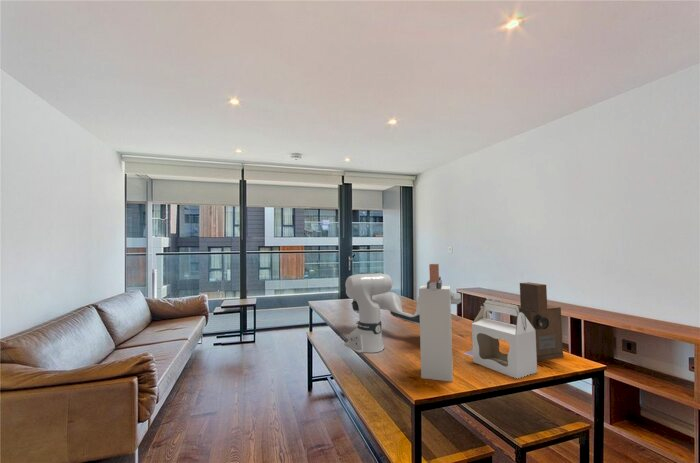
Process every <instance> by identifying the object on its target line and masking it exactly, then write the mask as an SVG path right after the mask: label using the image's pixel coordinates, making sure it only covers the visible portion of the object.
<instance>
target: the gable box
mask: <svg viewBox="0 0 700 463" xmlns="http://www.w3.org/2000/svg"><path fill="white" fill-rule="evenodd" d="M519 306H520V305H518V304H513V303H507V302H502V301H501V302H500V301H496V300H489V299H486V300H485V301H484V302H483V305H480V310H479V311H478V313H477V314H476V316H475V318H474V319H473V321H472V323H471V334H472V335H471V337H472V340H471V341H472V350H473V356H472V362H473V363H475V364H478V365H479V366H483V367H485V368H487V369H489V370H493V371H496V372H498V373H500V374H503V375H505V376H508V377H511V378H513V377H514V378H513V379H516V378H517V380H519V379H522V378H525V377H528V376H531V375H534V374H536V373H538V362H537V356H536V333H535V329H534V328H533V326H532V325H531V323H530V322H529V321H528V319H527V318H526V316H525V314H523V313H522V312H520V310H519ZM490 312H495V313H500V314H504V315H509V316H513V315H514V316H517V324H516V325H514V324H513V323H510V322H504V321H500V320H496V319H492V318H491V315H490ZM499 340H503V341H504V342H507V343H508V345H509V350H508V353H503V352H501V351H500V341H499ZM530 374H531V375H530ZM527 375H528V376H527ZM524 376H525V377H524ZM521 377H522V378H521ZM518 378H519V379H518Z"/></svg>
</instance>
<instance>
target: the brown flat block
mask: <svg viewBox="0 0 700 463" xmlns="http://www.w3.org/2000/svg"><path fill="white" fill-rule="evenodd" d="M439 266H440V265H439V263H429V280H430V281H431V283H430V284H429V289H430V291H436V290H437V287H438V281H439V280H442V278H441V276H440V267H439Z"/></svg>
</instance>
